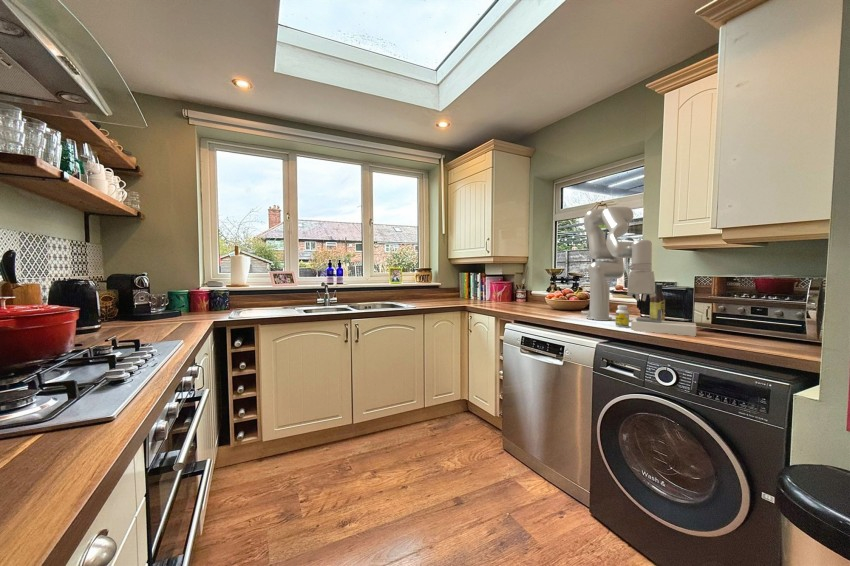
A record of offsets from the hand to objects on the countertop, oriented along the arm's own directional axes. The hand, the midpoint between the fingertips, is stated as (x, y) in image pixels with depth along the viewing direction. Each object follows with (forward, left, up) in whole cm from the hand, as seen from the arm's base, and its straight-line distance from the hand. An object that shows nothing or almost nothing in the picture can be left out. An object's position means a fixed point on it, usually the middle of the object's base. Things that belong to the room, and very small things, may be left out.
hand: (640, 309), depth 150 cm
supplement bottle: (-8, +5, -9) cm, 13 cm away
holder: (+8, 0, -9) cm, 12 cm away
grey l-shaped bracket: (+3, 0, -5) cm, 5 cm away
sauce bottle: (+4, +29, -9) cm, 31 cm away
